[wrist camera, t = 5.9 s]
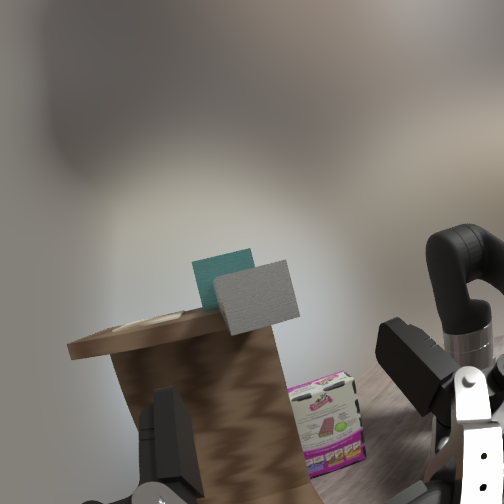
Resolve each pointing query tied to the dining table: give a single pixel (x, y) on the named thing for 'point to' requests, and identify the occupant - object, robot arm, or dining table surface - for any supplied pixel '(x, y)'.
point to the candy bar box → (328, 423)
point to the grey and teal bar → (246, 291)
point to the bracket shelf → (215, 400)
